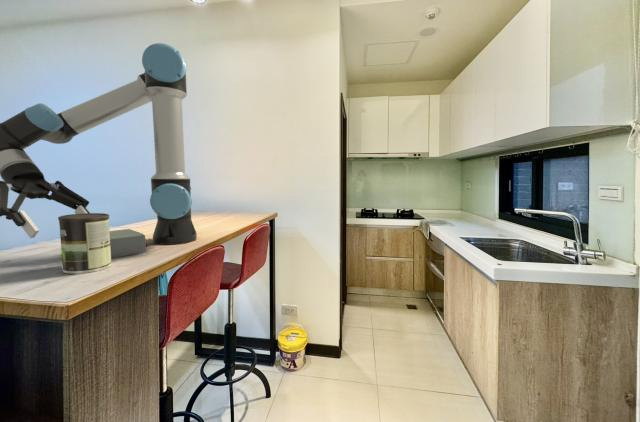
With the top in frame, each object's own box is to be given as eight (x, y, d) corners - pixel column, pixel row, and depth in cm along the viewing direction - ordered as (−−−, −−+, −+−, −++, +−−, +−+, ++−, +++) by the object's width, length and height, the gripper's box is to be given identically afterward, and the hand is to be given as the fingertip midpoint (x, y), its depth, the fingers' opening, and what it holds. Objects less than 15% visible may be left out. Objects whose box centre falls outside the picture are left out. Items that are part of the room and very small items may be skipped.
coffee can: (61, 277, 69) (56, 219, 67) (63, 266, 77) (59, 214, 75) (114, 269, 76) (110, 216, 74) (110, 260, 84) (107, 212, 82)
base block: (130, 245, 101) (129, 228, 100) (145, 252, 93) (144, 233, 92) (83, 252, 91) (82, 233, 90) (96, 260, 83) (95, 240, 82)
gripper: (62, 180, 90) (103, 230, 88) (-57, 180, 66) (-4, 249, 64) (74, 163, 88) (116, 214, 86) (-44, 157, 64) (11, 227, 62)
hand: (65, 229), depth 75 cm, fingers open, 13 cm apart
